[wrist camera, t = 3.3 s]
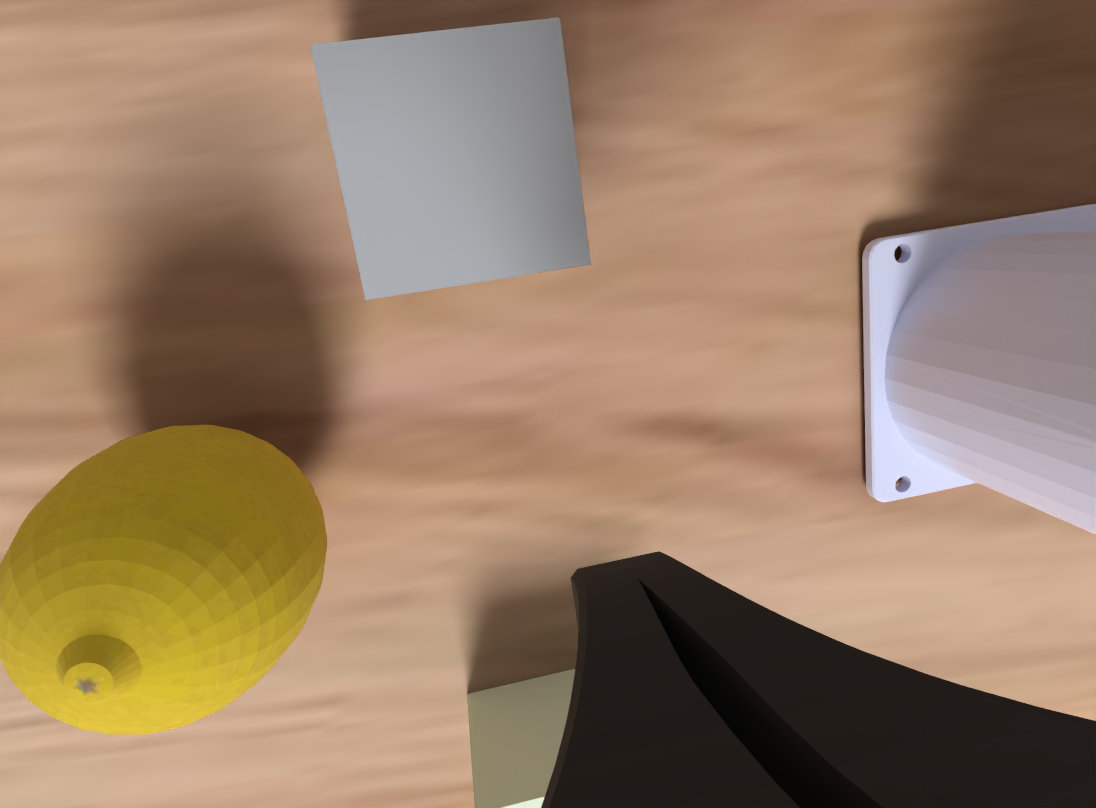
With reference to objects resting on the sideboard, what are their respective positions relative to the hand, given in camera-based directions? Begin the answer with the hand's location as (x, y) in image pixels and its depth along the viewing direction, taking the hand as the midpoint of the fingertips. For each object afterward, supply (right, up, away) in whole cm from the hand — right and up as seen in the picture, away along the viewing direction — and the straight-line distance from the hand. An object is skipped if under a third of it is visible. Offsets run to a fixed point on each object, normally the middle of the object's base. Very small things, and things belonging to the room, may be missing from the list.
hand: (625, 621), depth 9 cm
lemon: (-9, +1, +8) cm, 12 cm away
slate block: (-4, +9, +7) cm, 12 cm away
